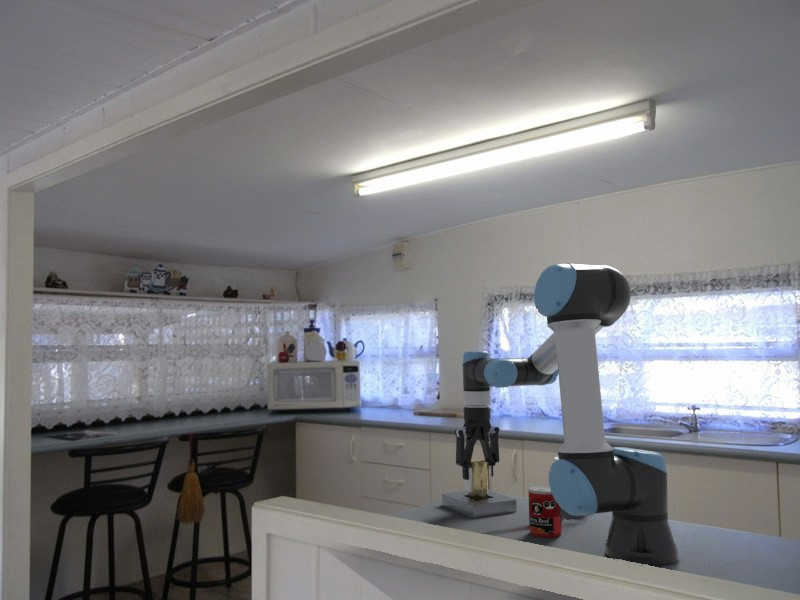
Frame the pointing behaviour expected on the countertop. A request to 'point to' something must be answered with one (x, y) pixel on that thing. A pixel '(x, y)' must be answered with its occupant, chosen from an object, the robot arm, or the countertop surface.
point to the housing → (479, 504)
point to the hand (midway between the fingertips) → (478, 489)
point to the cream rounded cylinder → (479, 479)
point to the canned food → (544, 512)
